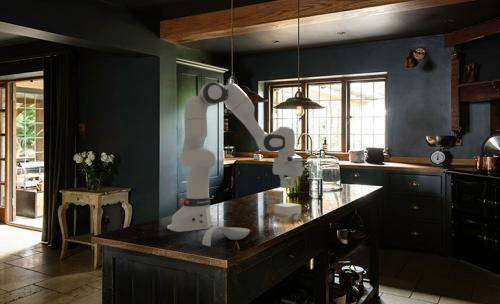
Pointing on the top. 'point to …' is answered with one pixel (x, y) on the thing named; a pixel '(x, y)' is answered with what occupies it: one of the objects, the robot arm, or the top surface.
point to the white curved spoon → (229, 232)
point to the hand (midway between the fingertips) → (287, 183)
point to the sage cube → (286, 183)
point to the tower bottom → (287, 217)
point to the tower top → (287, 208)
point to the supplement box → (274, 199)
